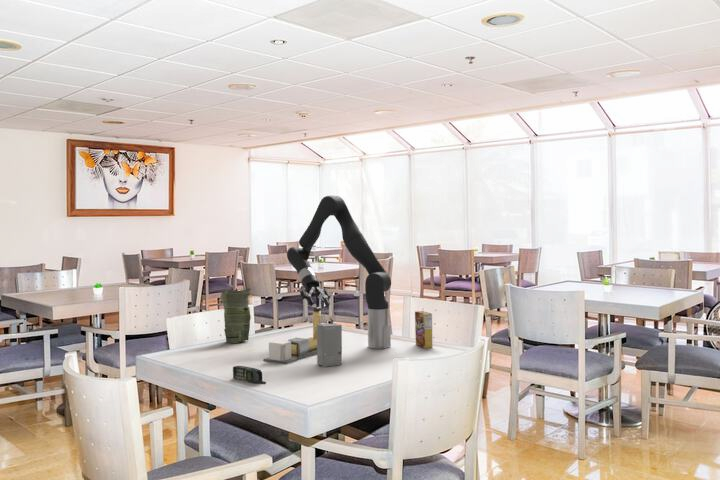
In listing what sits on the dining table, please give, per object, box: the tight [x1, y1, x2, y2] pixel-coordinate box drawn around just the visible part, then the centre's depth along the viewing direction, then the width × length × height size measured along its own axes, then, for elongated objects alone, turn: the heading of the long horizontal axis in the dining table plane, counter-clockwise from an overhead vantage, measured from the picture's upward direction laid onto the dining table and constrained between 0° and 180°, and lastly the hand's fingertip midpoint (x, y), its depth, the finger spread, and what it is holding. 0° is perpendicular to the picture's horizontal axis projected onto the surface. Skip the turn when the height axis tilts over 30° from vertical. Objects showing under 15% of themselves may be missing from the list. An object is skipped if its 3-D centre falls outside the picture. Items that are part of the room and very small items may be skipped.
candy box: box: [414, 310, 433, 349], centre depth 269 cm, size 9×4×15 cm, turn 23°
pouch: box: [220, 288, 252, 344], centre depth 284 cm, size 11×12×25 cm
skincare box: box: [316, 323, 343, 368], centre depth 236 cm, size 8×7×16 cm
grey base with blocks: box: [262, 337, 317, 365], centre depth 254 cm, size 32×12×6 cm, turn 150°
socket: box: [268, 339, 291, 361], centre depth 243 cm, size 6×7×7 cm
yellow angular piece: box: [291, 306, 322, 355], centre depth 258 cm, size 20×4×17 cm, turn 150°
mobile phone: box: [232, 365, 267, 384], centre depth 212 cm, size 5×3×15 cm
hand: (320, 305), depth 270 cm, fingers open, 8 cm apart
